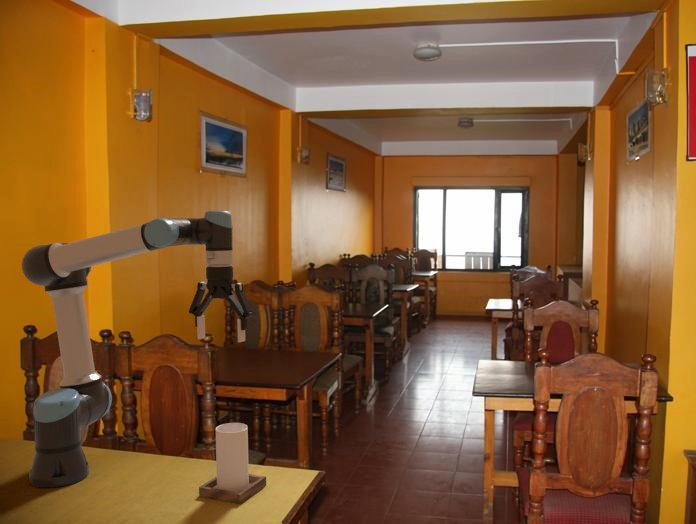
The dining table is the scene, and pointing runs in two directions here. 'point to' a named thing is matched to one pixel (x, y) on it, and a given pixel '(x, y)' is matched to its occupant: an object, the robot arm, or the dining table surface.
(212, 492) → the square wooden tray
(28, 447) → the dining table surface
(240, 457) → the cup
